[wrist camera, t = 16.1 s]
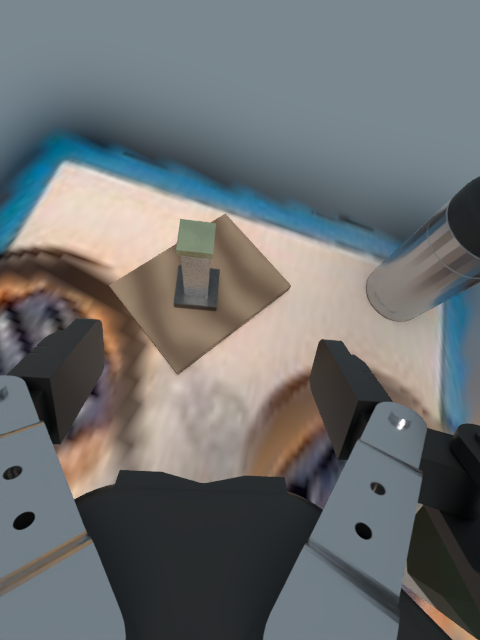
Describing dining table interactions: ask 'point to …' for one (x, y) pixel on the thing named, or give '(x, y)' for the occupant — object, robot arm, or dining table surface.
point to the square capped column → (196, 267)
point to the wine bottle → (438, 575)
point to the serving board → (191, 324)
